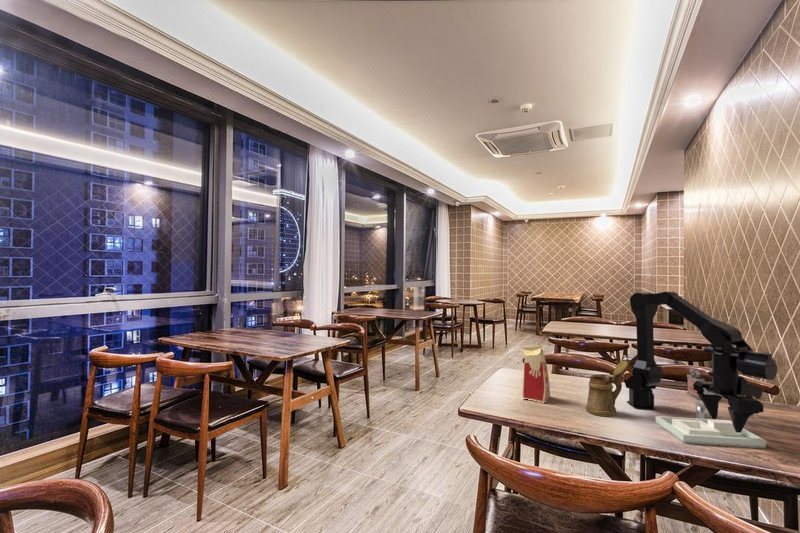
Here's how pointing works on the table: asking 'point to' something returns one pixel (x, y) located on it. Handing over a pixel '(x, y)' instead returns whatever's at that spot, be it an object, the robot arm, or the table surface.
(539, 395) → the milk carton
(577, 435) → the table surface
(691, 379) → the lighter
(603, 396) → the wooden mug
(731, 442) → the tray
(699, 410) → the grey knob with bar
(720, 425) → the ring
